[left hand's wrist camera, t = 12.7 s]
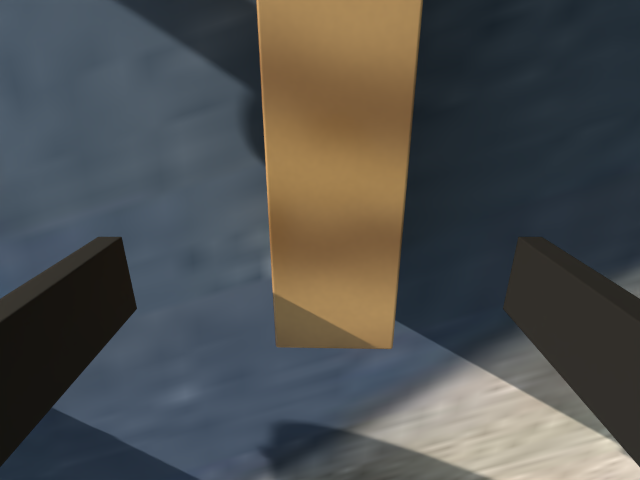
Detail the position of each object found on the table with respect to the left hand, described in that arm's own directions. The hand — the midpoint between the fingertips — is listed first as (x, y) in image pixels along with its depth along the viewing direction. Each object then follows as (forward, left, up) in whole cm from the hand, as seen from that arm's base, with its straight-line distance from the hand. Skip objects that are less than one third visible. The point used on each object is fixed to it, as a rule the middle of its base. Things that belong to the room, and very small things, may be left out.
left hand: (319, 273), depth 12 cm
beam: (+8, +22, -9) cm, 25 cm away
